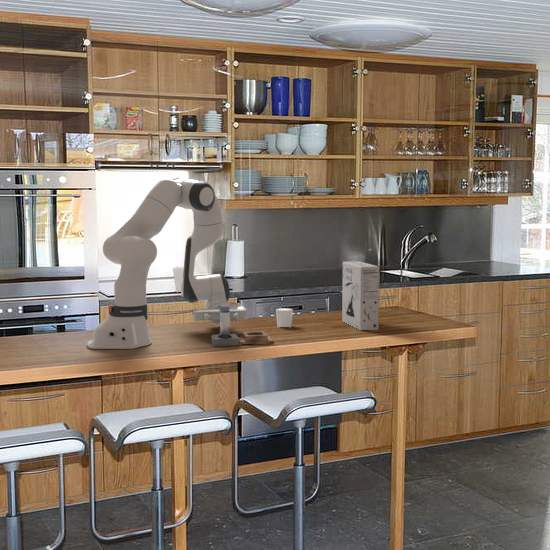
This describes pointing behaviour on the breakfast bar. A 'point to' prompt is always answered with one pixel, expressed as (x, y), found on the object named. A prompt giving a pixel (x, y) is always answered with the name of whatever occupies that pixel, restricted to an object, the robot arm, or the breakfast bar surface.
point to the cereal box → (360, 295)
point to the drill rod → (224, 321)
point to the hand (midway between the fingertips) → (222, 317)
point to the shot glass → (284, 317)
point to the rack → (255, 338)
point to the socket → (225, 340)
